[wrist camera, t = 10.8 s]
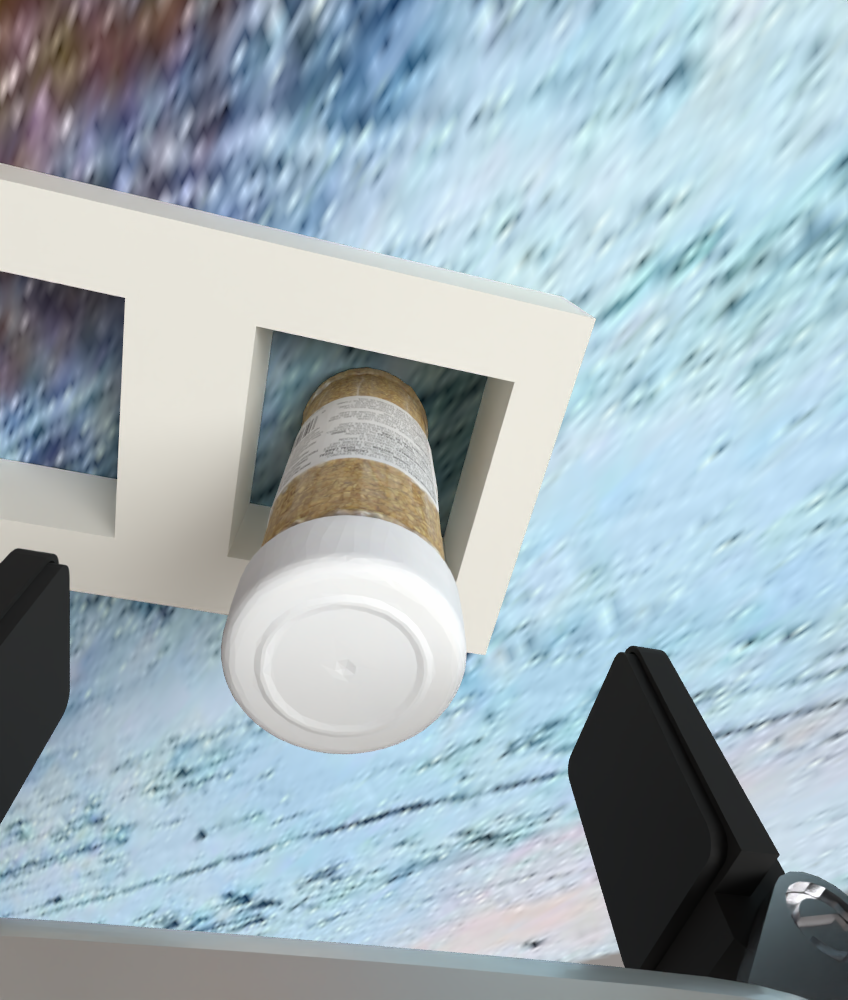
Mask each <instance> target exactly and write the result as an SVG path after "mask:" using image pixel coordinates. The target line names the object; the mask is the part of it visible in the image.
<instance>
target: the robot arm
mask: <svg viewBox="0 0 848 1000" xmlns="http://www.w3.org/2000/svg"><path fill="white" fill-rule="evenodd" d="M69 692H70V573H69V568H68V566H67V565H63V564H59V560H58V557H57V555H55V554H52V553H46V552H40V551H33V550H27V549H21V548H17V549H14V550H13V551H11V552H10V553H9V554H8V555H7V557H6V558H5V559H4V560H3V561H2V562H1V563H0V824H1V822H2V820H3V818H4V817H5V815H6V813H7V812H8V810H9V808H10V806H11V805H12V803H13V801H14V799H15V798H16V796H17V794H18V792H19V791H20V789H21V787H22V785H23V784H24V782H25V780H26V778H27V777H28V775H29V773H30V772H31V770H32V768H33V766H34V765H35V763H36V761H37V759H38V758H39V756H40V754H41V752H42V751H43V749H44V747H45V745H46V744H47V742H48V740H49V738H50V737H51V735H52V733H53V732H54V730H55V728H56V726H57V725H58V723H59V721H60V719H61V718H62V716H63V714H64V712H65V709H66V706H67V703H68V699H69ZM568 776H569V781H570V784H571V787H572V791H573V794H574V798H575V801H576V804H577V808H578V811H579V814H580V818H581V821H582V825H583V828H584V831H585V835H586V838H587V842H588V845H589V848H590V852H591V855H592V859H593V862H594V865H595V869H596V872H597V876H598V879H599V882H600V886H601V889H602V893H603V896H604V899H605V903H606V906H607V910H608V913H609V916H610V920H611V923H612V927H613V930H614V933H615V937H616V940H617V944H618V947H619V950H620V954H621V957H622V961H623V963H624V966H625V968H622V967H612V966H601V965H590V964H579V963H568V962H556V961H545V960H534V959H523V958H512V957H500V956H489V955H478V954H467V953H455V952H444V951H432V950H420V949H408V948H396V947H384V946H372V945H361V944H348V943H336V942H324V941H312V940H300V939H288V938H276V937H264V936H251V935H238V934H225V933H213V932H200V931H187V930H174V929H161V928H148V927H135V926H122V925H110V924H97V923H84V922H69V921H53V920H36V919H20V918H3V917H0V1000H848V896H847V895H846V894H845V893H844V892H842V891H841V890H840V889H838V888H837V887H836V886H834V885H833V884H831V883H829V882H827V881H825V880H823V879H822V878H820V877H818V876H814V875H811V874H808V873H805V872H788V873H786V874H785V873H784V871H783V869H782V867H781V865H780V864H779V862H778V860H777V858H778V857H779V853H778V851H777V849H776V847H775V846H774V844H773V842H772V840H771V839H770V837H769V835H768V833H767V832H766V830H765V828H764V826H763V824H762V823H761V821H760V819H759V817H758V816H757V814H756V812H755V810H754V808H753V807H752V805H751V803H750V801H749V800H748V798H747V796H746V794H745V792H744V791H743V789H742V787H741V785H740V784H739V782H738V780H737V778H736V776H735V775H734V773H733V771H732V769H731V768H730V766H729V764H728V762H727V761H726V759H725V757H724V755H723V753H722V752H721V750H720V748H719V746H718V745H717V743H716V741H715V739H714V737H713V736H712V734H711V732H710V730H709V729H708V727H707V725H706V723H705V721H704V720H703V718H702V716H701V714H700V713H699V711H698V709H697V707H696V705H695V704H694V702H693V700H692V698H691V697H690V695H689V693H688V691H687V690H686V688H685V686H684V684H683V682H682V681H681V679H680V677H679V675H678V674H677V672H676V670H675V668H674V666H673V665H672V663H671V661H670V659H669V658H668V656H667V655H666V653H665V652H664V651H661V650H656V649H650V648H644V647H638V646H630V647H629V648H628V649H626V651H625V653H624V652H620V653H618V654H617V655H616V657H615V658H614V661H613V663H612V665H611V667H610V670H609V672H608V674H607V676H606V678H605V681H604V683H603V685H602V687H601V690H600V692H599V694H598V696H597V698H596V701H595V703H594V705H593V707H592V709H591V712H590V714H589V716H588V718H587V721H586V723H585V725H584V727H583V729H582V732H581V734H580V736H579V738H578V741H577V743H576V745H575V747H574V749H573V752H572V754H571V756H570V759H569V764H568Z"/></svg>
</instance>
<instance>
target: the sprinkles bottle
mask: <svg viewBox="0 0 848 1000" xmlns="http://www.w3.org/2000/svg"><path fill="white" fill-rule="evenodd" d="M466 652H467V651H466V638H465V630H464V622H463V615H462V609H461V603H460V598H459V593H458V589H457V585H456V582H455V580H454V577H453V575H452V573H451V571H450V569H449V567H448V566H447V564H446V563H445V560H444V550H443V542H442V536H441V529H440V520H439V507H438V490H437V484H436V478H435V472H434V466H433V460H432V454H431V449H430V445H429V442H428V421H427V417H426V413H425V410H424V408H423V405H422V404H421V402H420V400H419V398H418V397H417V395H416V393H415V392H414V390H413V389H412V388H411V387H410V386H408V385H407V384H406V383H404V382H403V381H402V380H401V379H399V378H398V377H396V376H393V375H391V374H389V373H388V372H385V371H382V370H377V369H372V368H367V367H366V368H358V369H351V370H347V371H344V372H340V373H338V374H336V375H335V376H333V377H331V378H329V379H327V380H326V381H325V382H323V383H322V384H321V385H320V386H319V387H318V389H317V390H316V391H315V392H314V393H313V395H312V396H311V398H310V400H309V402H308V403H307V405H306V407H305V410H304V413H303V421H302V426H301V429H300V431H299V433H298V435H297V437H296V440H295V442H294V445H293V448H292V451H291V453H290V456H289V459H288V462H287V465H286V468H285V471H284V474H283V476H282V479H281V482H280V485H279V488H278V491H277V494H276V497H275V499H274V502H273V505H272V508H271V510H270V514H269V518H268V523H267V529H266V533H265V536H264V540H263V543H262V545H261V548H260V549H259V551H258V552H257V553H256V554H255V555H254V556H253V557H252V559H251V560H250V562H249V563H248V565H247V566H246V568H245V570H244V572H243V574H242V576H241V578H240V581H239V584H238V587H237V589H236V592H235V595H234V598H233V601H232V604H231V607H230V610H229V614H228V617H227V621H226V624H225V628H224V632H223V638H222V644H221V660H222V666H223V672H224V676H225V679H226V682H227V684H228V687H229V689H230V691H231V693H232V695H233V697H234V699H235V700H236V701H237V703H238V704H239V705H240V707H241V708H242V709H243V711H244V712H245V713H246V714H247V715H248V716H249V717H250V718H251V719H252V720H253V721H254V722H255V723H256V724H257V725H259V726H260V727H261V728H263V729H264V730H266V731H267V732H269V733H270V734H272V735H274V736H275V737H277V738H279V739H281V740H283V741H286V742H288V743H290V744H293V745H295V746H299V747H302V748H305V749H308V750H312V751H317V752H323V753H333V754H355V753H364V752H371V751H375V750H379V749H384V748H387V747H390V746H393V745H396V744H399V743H401V742H403V741H405V740H407V739H409V738H411V737H413V736H415V735H417V734H418V733H420V732H421V731H423V730H424V729H426V728H427V727H428V726H429V725H430V724H432V723H433V722H434V721H435V720H436V719H437V718H438V717H439V716H440V715H441V714H442V713H443V712H444V711H445V709H446V708H447V707H448V706H449V704H450V703H451V701H452V700H453V698H454V697H455V695H456V693H457V691H458V689H459V687H460V684H461V681H462V678H463V675H464V671H465V665H466Z"/></svg>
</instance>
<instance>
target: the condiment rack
mask: <svg viewBox="0 0 848 1000" xmlns="http://www.w3.org/2000/svg"><path fill="white" fill-rule="evenodd" d="M0 271H3V272H8V273H12V274H17V275H22V276H26V277H31V278H36V279H40V280H45V281H49V282H54V283H59V284H63V285H68V286H72V287H77V288H82V289H86V290H91V291H96V292H100V293H105V294H109V295H114V296H119V297H123V298H125V314H124V336H123V359H122V381H121V404H120V426H119V449H118V472H117V479H113V478H107V477H102V476H96V475H91V474H85V473H80V472H74V471H68V470H63V469H57V468H52V467H46V466H41V465H35V464H29V463H24V462H18V461H13V460H7V459H2V458H0V563H1V562H2V561H3V560H4V559H5V558H6V557H7V555H8V554H9V553H10V552H11V551H13V550H14V549H17V548H21V549H27V550H33V551H40V552H46V553H52V554H55V555H57V557H58V560H59V564H63V565H67V566H68V568H69V573H70V591H77V592H83V593H89V594H96V595H102V596H109V597H115V598H122V599H128V600H134V601H141V602H147V603H154V604H160V605H166V606H173V607H179V608H186V609H192V610H199V611H205V612H211V613H218V614H224V615H228V614H229V610H230V607H231V604H232V601H233V598H234V595H235V592H236V589H237V587H238V584H239V581H240V578H241V576H242V574H243V572H244V570H245V568H246V566H247V565H248V563H249V562H250V560H251V559H252V557H253V556H254V555H255V554H256V553H257V552H258V551H259V549H260V548H261V545H262V543H263V540H264V536H265V533H266V529H267V523H268V518H269V514H270V510H271V508H272V507H269V506H263V505H258V504H252V503H250V499H251V491H252V484H253V476H254V469H255V462H256V454H257V447H258V440H259V432H260V425H261V417H262V410H263V403H264V395H265V388H266V381H267V373H268V366H269V358H270V351H271V344H272V336H273V330H276V331H280V332H285V333H290V334H294V335H299V336H304V337H308V338H313V339H317V340H322V341H327V342H331V343H336V344H341V345H345V346H350V347H354V348H359V349H364V350H368V351H373V352H377V353H382V354H387V355H391V356H396V357H401V358H405V359H410V360H414V361H419V362H424V363H428V364H433V365H438V366H442V367H447V368H451V369H456V370H461V371H465V372H470V373H475V374H479V375H484V376H488V377H487V381H486V385H485V388H484V392H483V396H482V399H481V403H480V407H479V410H478V414H477V418H476V421H475V425H474V429H473V432H472V436H471V439H470V443H469V447H468V450H467V454H466V458H465V461H464V465H463V469H462V472H461V476H460V480H459V483H458V487H457V491H456V494H455V498H454V501H453V505H452V509H451V512H450V516H449V520H448V523H447V527H446V531H445V534H444V538H442V542H443V550H444V560H445V563H446V564H447V566H448V567H449V569H450V571H451V573H452V575H453V577H454V580H455V582H456V585H457V589H458V593H459V598H460V603H461V609H462V615H463V622H464V630H465V638H466V651H467V652H468V653H475V654H481V655H485V654H486V651H487V648H488V645H489V641H490V638H491V635H492V632H493V629H494V626H495V623H496V620H497V617H498V614H499V611H500V608H501V605H502V602H503V599H504V596H505V593H506V590H507V587H508V584H509V581H510V578H511V575H512V572H513V569H514V566H515V563H516V560H517V557H518V554H519V551H520V548H521V545H522V542H523V538H524V535H525V532H526V529H527V526H528V523H529V520H530V517H531V514H532V511H533V508H534V505H535V502H536V499H537V496H538V493H539V490H540V487H541V484H542V481H543V478H544V475H545V472H546V469H547V466H548V463H549V460H550V457H551V454H552V451H553V448H554V445H555V442H556V439H557V436H558V432H559V429H560V426H561V423H562V420H563V417H564V414H565V411H566V408H567V405H568V402H569V399H570V396H571V393H572V390H573V387H574V384H575V381H576V378H577V375H578V372H579V369H580V366H581V363H582V360H583V357H584V354H585V351H586V348H587V345H588V342H589V339H590V336H591V333H592V330H593V326H594V323H595V320H596V319H595V318H594V317H592V316H591V315H589V314H588V313H586V312H585V311H583V310H582V309H580V308H579V307H577V306H576V305H574V304H573V303H571V302H570V301H568V300H567V299H565V298H564V297H562V296H558V295H554V294H550V293H545V292H541V291H537V290H533V289H528V288H524V287H520V286H516V285H512V284H507V283H503V282H499V281H495V280H491V279H486V278H482V277H478V276H474V275H470V274H465V273H461V272H457V271H453V270H449V269H444V268H440V267H436V266H432V265H427V264H423V263H419V262H415V261H411V260H406V259H402V258H398V257H394V256H390V255H385V254H381V253H377V252H373V251H369V250H364V249H360V248H356V247H352V246H348V245H343V244H339V243H335V242H331V241H327V240H322V239H318V238H314V237H310V236H305V235H301V234H297V233H293V232H289V231H284V230H280V229H276V228H272V227H268V226H263V225H259V224H255V223H251V222H247V221H242V220H238V219H234V218H230V217H226V216H221V215H217V214H213V213H209V212H204V211H200V210H196V209H192V208H188V207H183V206H179V205H175V204H171V203H167V202H162V201H158V200H154V199H150V198H146V197H141V196H137V195H133V194H129V193H125V192H120V191H116V190H112V189H108V188H103V187H99V186H95V185H91V184H87V183H82V182H78V181H74V180H70V179H66V178H61V177H57V176H53V175H49V174H45V173H40V172H36V171H32V170H28V169H24V168H19V167H15V166H11V165H7V164H2V163H0Z"/></svg>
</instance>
